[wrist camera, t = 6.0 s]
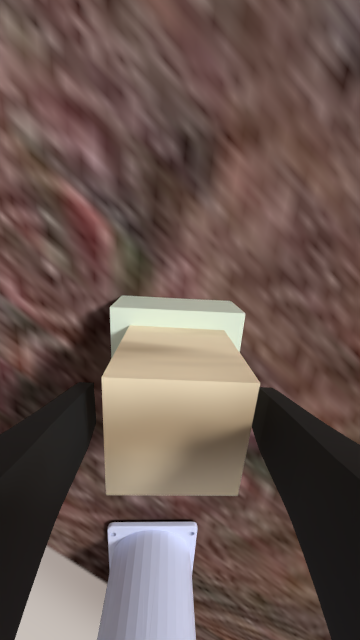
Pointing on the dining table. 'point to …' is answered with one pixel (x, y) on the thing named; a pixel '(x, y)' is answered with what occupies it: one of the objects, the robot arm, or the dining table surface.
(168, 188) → the dining table surface
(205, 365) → the maple cube
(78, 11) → the dining table surface
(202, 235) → the dining table surface
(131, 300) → the base block
